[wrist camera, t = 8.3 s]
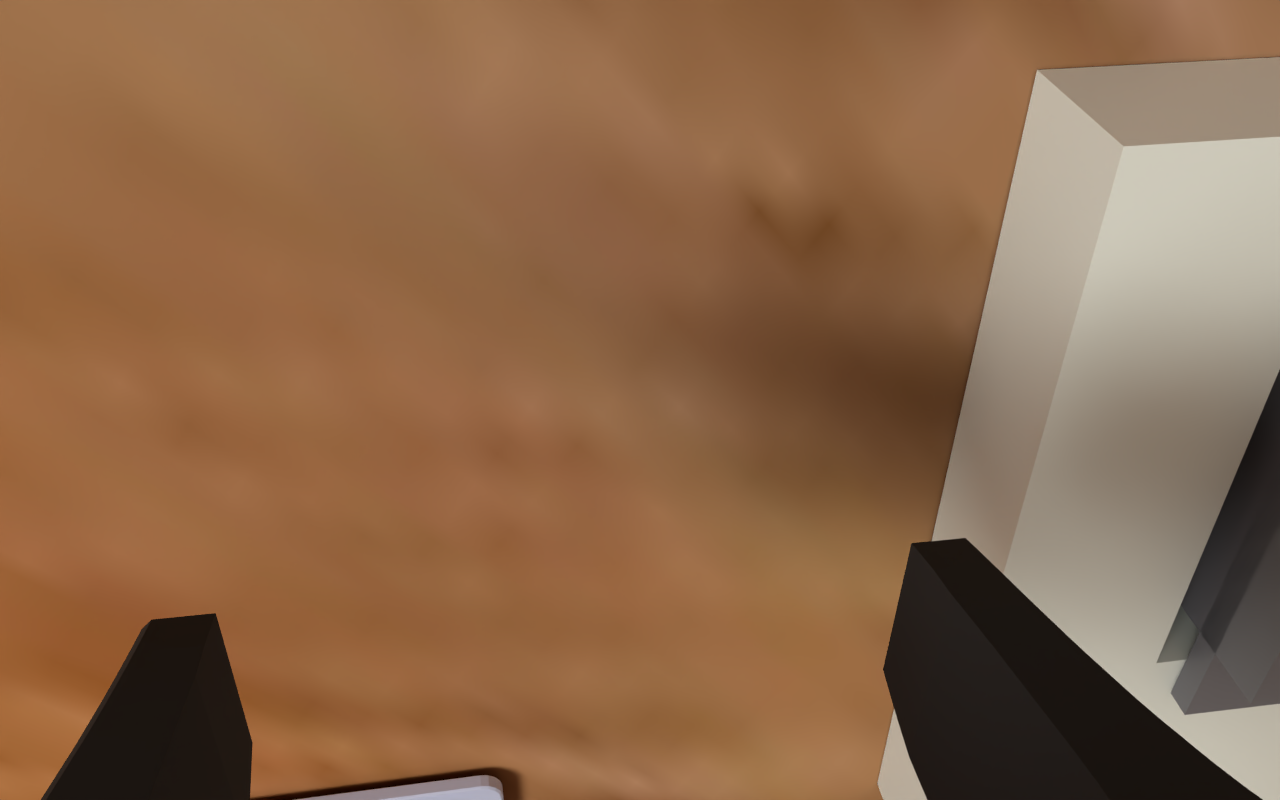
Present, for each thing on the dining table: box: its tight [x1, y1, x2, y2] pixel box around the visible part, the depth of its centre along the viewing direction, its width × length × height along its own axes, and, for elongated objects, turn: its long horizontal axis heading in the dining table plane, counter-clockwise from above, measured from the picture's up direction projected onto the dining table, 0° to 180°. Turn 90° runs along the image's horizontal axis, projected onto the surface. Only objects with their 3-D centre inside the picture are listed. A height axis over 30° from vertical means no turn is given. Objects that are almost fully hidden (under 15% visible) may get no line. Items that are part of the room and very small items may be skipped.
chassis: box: [877, 57, 1280, 800], centre depth 25 cm, size 20×14×3 cm
